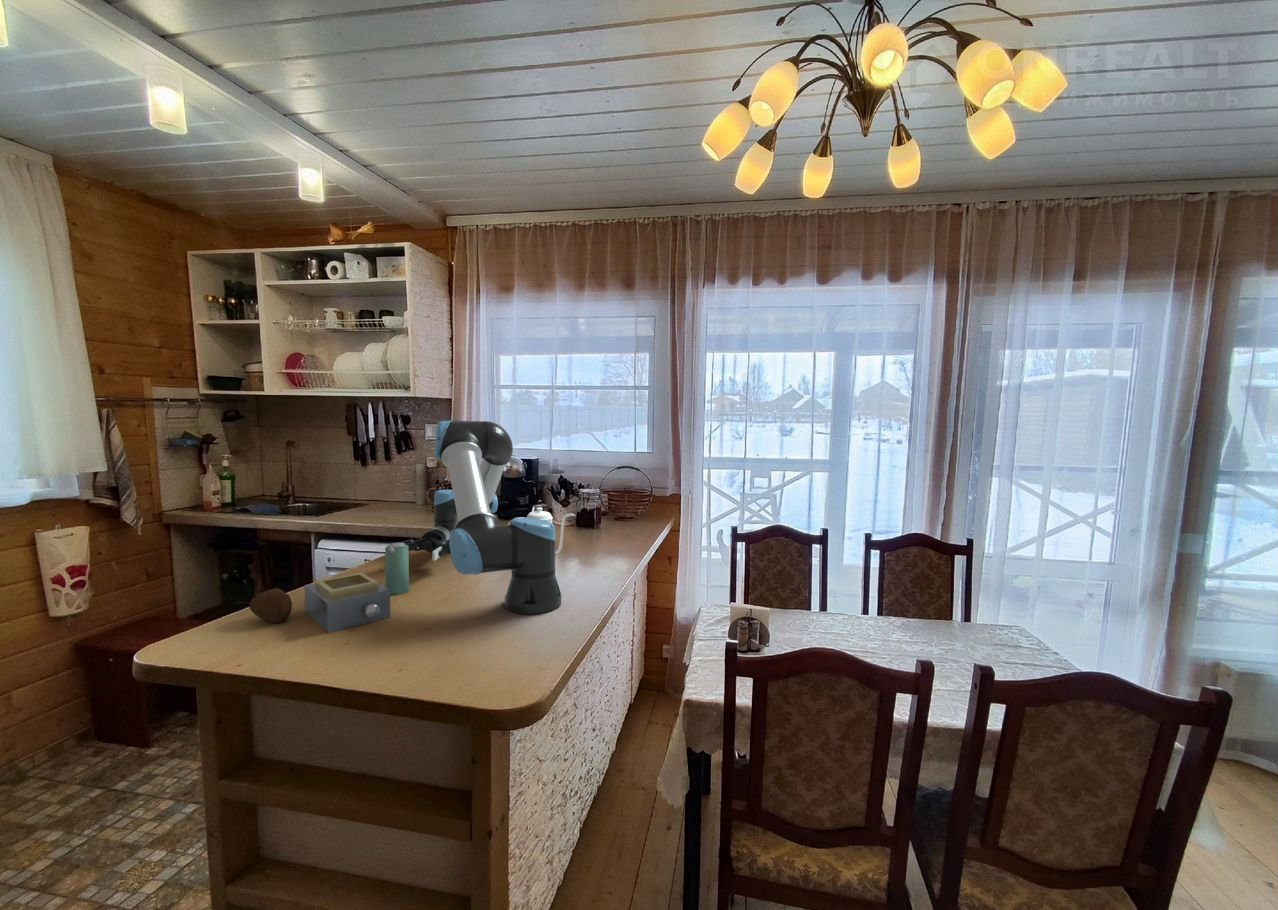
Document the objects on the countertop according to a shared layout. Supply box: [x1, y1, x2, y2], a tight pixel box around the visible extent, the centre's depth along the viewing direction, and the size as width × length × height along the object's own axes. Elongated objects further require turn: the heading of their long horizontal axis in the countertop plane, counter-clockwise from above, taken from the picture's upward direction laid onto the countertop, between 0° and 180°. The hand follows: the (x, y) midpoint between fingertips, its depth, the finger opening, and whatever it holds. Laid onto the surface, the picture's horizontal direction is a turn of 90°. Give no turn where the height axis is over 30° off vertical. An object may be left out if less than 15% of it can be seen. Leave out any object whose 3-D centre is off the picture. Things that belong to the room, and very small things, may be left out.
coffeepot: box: [507, 507, 576, 555], centre depth 185 cm, size 11×25×19 cm, turn 84°
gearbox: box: [304, 572, 391, 633], centre depth 130 cm, size 21×14×8 cm, turn 47°
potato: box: [248, 587, 293, 624], centre depth 126 cm, size 7×10×8 cm
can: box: [384, 542, 410, 596], centre depth 148 cm, size 7×6×14 cm
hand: (410, 556), depth 158 cm, fingers open, 13 cm apart
